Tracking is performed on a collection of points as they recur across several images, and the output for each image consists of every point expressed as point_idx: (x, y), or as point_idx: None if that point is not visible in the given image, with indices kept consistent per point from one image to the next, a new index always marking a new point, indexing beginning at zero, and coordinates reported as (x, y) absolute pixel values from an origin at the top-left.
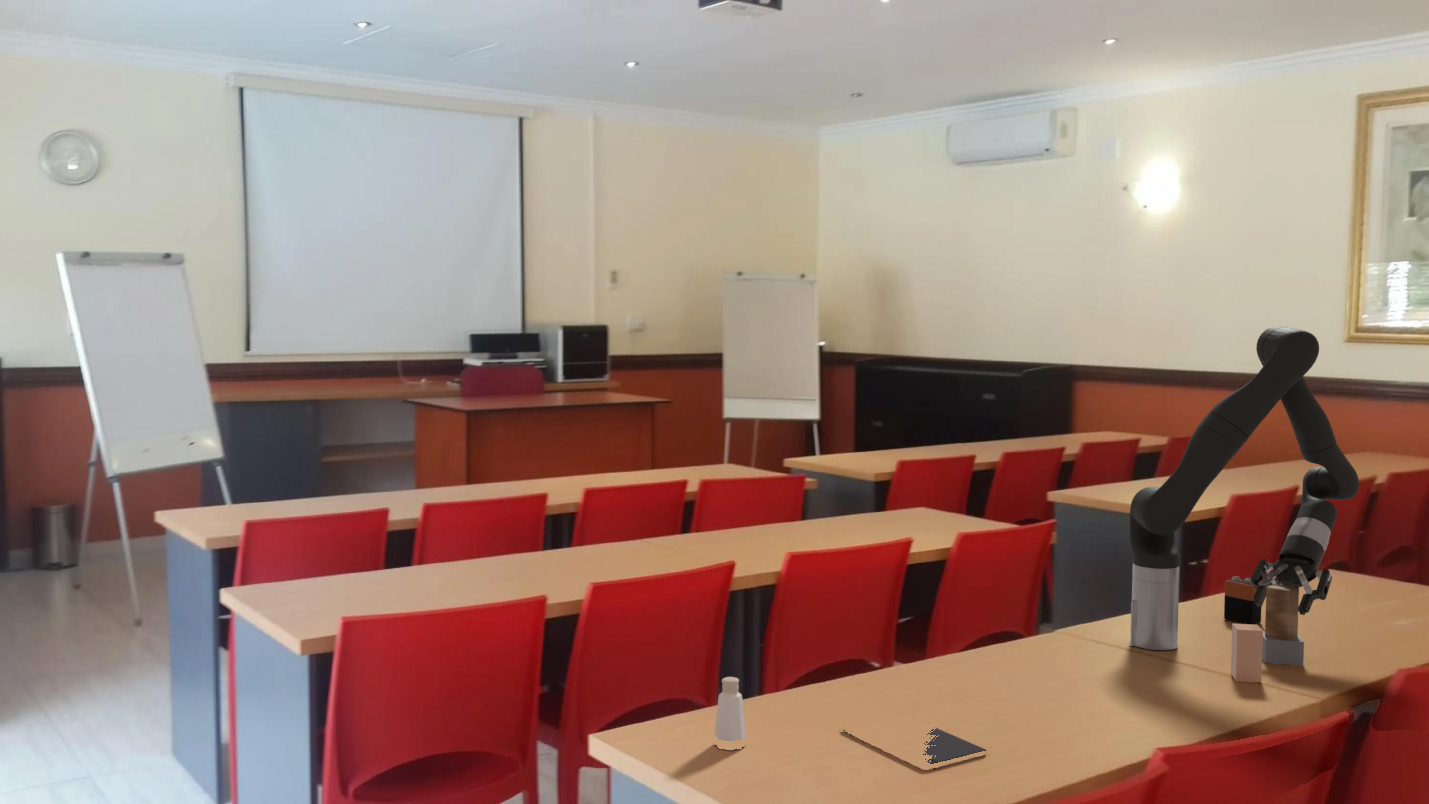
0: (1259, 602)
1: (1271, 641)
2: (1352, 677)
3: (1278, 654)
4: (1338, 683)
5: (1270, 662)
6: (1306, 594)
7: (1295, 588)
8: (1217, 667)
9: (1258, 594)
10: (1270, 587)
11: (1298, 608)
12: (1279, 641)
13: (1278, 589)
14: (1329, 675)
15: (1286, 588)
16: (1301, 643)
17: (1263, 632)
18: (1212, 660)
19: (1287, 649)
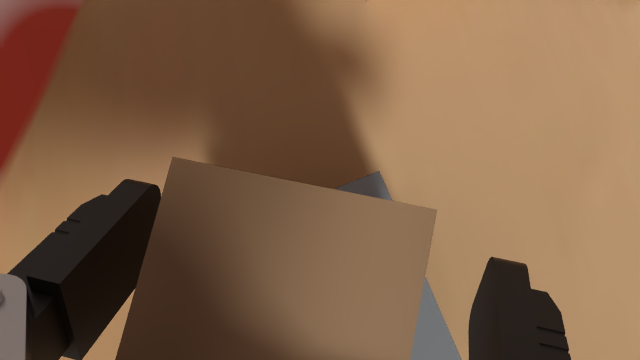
0: (484, 280)
1: (351, 183)
2: (53, 196)
3: None
4: (95, 85)
5: None
6: (34, 275)
7: (127, 341)
8: (521, 18)
9: (523, 311)
10: (389, 213)
11: (152, 184)
12: None
13: (292, 181)
14: (130, 171)
15: (218, 273)
16: None
17: (429, 333)
18: (575, 104)
19: None
